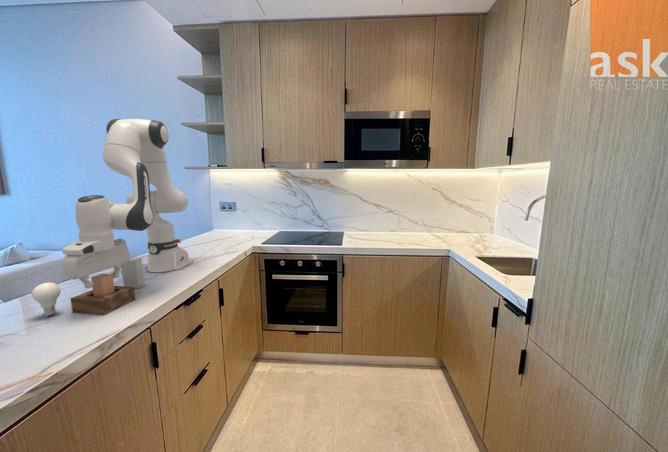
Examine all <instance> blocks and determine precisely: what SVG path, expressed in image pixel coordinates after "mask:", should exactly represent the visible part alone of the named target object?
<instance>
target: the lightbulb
mask: <svg viewBox="0 0 668 452" xmlns="http://www.w3.org/2000/svg"><path fill="white" fill-rule="evenodd" d="M61 290H62V289H61V287H60V286H59V285H58V284H57V283H55V282H50V281H49V282H43V283H40V284H38V285H37V286H35V287H34V288H33V290H32V292H31V297H32V299H33V300H34V301H35V302H37V303H38V304H39V305H40V307H41V308H42V310H43V315H44V316H47V317H51V316H53V315H54V314H56V313H57V312H56V304H57V300H58V298H59V297H60V296H61V295H60V294H61Z"/></svg>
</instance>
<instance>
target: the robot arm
mask: <svg viewBox="0 0 668 452" xmlns="http://www.w3.org/2000/svg"><path fill="white" fill-rule="evenodd" d="M105 129H106V134H107V135H106V137H105V141H104V147H103V150H102V157H103V161H104V163H105V165H106V166H107V167H108V168H109V169H110V170H112V171H113V172H116V173H117V174H120V175H123V176H125V177H128V178H130V179H131V181H132V187H133V188H132V191H133V192H130V193H129V194H128V195H127V197H126V200H125V203H118V202H117V203H116V202H115V203H114V202H112V201H110V200H108V199H107V197H106V196H105V195H101V194H100V195H99V194H93V195H92V194H91V195H84V196H81V197H79V198H78V199H77V200H76V202H75V210H74V211H75V212H74V213H75V221H76V226H77V227H78V229H79V231H78V240H76V241H74V242H72V243H71V244H69V245H67V246H65V247H63V248H62V250H61V251H62V254H63V255H65V256H64V257H63V259H62V269H63V275H64V277H65V278H67V279H68V280H80V281H81V282H82V283H83V287H84V288H85V289H90V288H93V286H94V285H93V282H92V281H90V280H89V278H90V276H91V275H93V274H96V273H99V272H102V271H106V270H108V269H111V268H113V271H112V272H111V273H110V274H113V279H116V278H119V277H120V271H121V264H123V263H126V262H129V260H130V258H131V255H130V250H129V248H128V245H127V241H126V240H125V239H124V238H121V237H120V238H117V239H114V232H113V230H114V231H115V230H119V231H123V230H125V231H127V230H129V231H137V232H142V231H146V232H147V239H148V241H147V250H148V253H147V254H148V255H147V265H146V271H147V272H149V273H164V272H171V271H177V270H182V269H184V268H186V267H187V266H188V265H190V264H192V263H193V262H194V261H195V260H194V259H193V258H190V257H189V253H188V251H187V250H186V249H183V248H181V247H180V246H179V244H180V243H182V239H180V238H178V239H176V238H175V228H174V225H173V223H172V222H170V221H169V220H165V219H163V218H162V217H161V216H160V214H175V213H181V212H184V211H186V209H187V207H188V205H189V200H188V197H187V195H186V194H185V193H184V192H183V191H182V190H180V189H178V188H177V187H176V185H174V183H173V182H172V180H171V177H170V173H169V169H168V163H167V162H168V161H167V157H166V152H165V148H164V146H166V145H167V143H168V141H169V131H168V128H167V126H166V125H165V124H164V123H163V122H161V121H158V120H154V119H151V120H150V119H143V118H114V119H111V120H109V122H108V123H107V124H106V128H105ZM150 185H152V186H153V187H154V188H155V189H156V190H151V189H150V188H151V186H150Z"/></svg>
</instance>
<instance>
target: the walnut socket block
mask: <svg viewBox="0 0 668 452" xmlns="http://www.w3.org/2000/svg"><path fill="white" fill-rule="evenodd" d="M114 290H115V292H114V293H112V294H109V295H107V296H105V297H94V294H93V289H91V290H89V291H88V290H87V291H86V292H83V293H80V294H78V295H76V296H74V297H71V298H70V303H71V312H72V313H75V314H84V315H96V316H98V315H99V316H105V315H108V314H110V313H111V312H114V311H116V310H118V309H120V308H122V307H124V306H125V305H128V304H130V303H132V302H134V301H136V293H135V288H134V287H127V286H124V285H114Z"/></svg>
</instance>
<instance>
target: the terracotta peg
mask: <svg viewBox="0 0 668 452" xmlns="http://www.w3.org/2000/svg"><path fill="white" fill-rule="evenodd" d="M90 279H91V282H93V285H94V286H93V287H92V290H93V294H94V297H105V296H107V295H109V294H112V293H114V292H115V290H114V286H115V283H114V278H113V274H111V273H101V274H97V275H95V276H91V277H90Z"/></svg>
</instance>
